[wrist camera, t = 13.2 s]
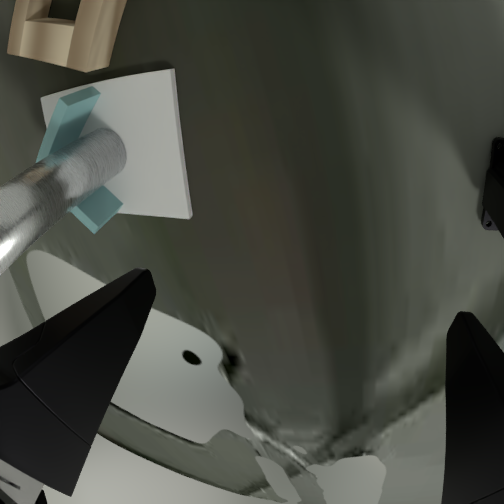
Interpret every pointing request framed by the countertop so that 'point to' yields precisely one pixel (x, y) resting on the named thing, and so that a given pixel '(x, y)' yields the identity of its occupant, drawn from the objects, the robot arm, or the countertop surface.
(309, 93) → the countertop surface
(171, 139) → the plate with teal chevron
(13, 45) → the wooden frame
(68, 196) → the silver metal cylinder
